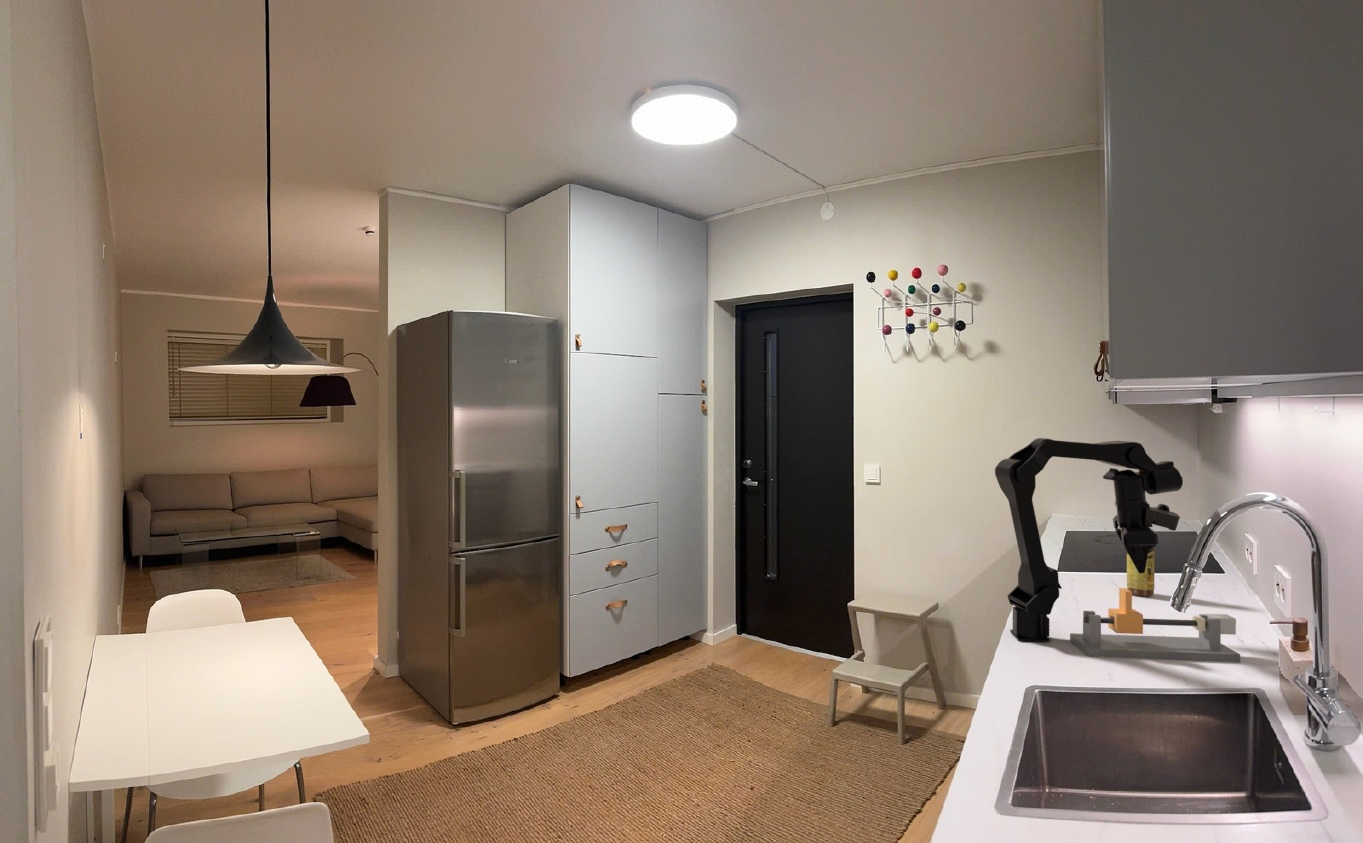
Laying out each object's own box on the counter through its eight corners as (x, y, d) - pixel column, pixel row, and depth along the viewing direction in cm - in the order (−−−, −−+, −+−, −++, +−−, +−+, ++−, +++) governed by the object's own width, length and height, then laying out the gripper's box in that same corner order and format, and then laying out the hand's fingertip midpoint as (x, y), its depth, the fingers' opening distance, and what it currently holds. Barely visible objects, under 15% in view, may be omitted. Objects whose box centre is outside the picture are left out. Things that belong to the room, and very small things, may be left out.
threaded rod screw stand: (1088, 656, 149) (1088, 619, 149) (1070, 640, 159) (1070, 605, 158) (1245, 662, 144) (1246, 624, 144) (1216, 645, 154) (1217, 609, 154)
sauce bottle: (1153, 598, 190) (1153, 522, 189) (1125, 595, 194) (1125, 520, 193) (1155, 593, 195) (1155, 519, 195) (1128, 589, 199) (1128, 517, 198)
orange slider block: (1116, 633, 151) (1116, 592, 150) (1108, 627, 155) (1108, 587, 154) (1142, 634, 150) (1143, 593, 150) (1133, 628, 154) (1134, 588, 154)
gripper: (1182, 503, 149) (1191, 578, 150) (1165, 487, 166) (1173, 555, 167) (1119, 506, 154) (1128, 579, 154) (1109, 491, 171) (1117, 556, 171)
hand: (1138, 567), depth 162 cm, fingers open, 9 cm apart
